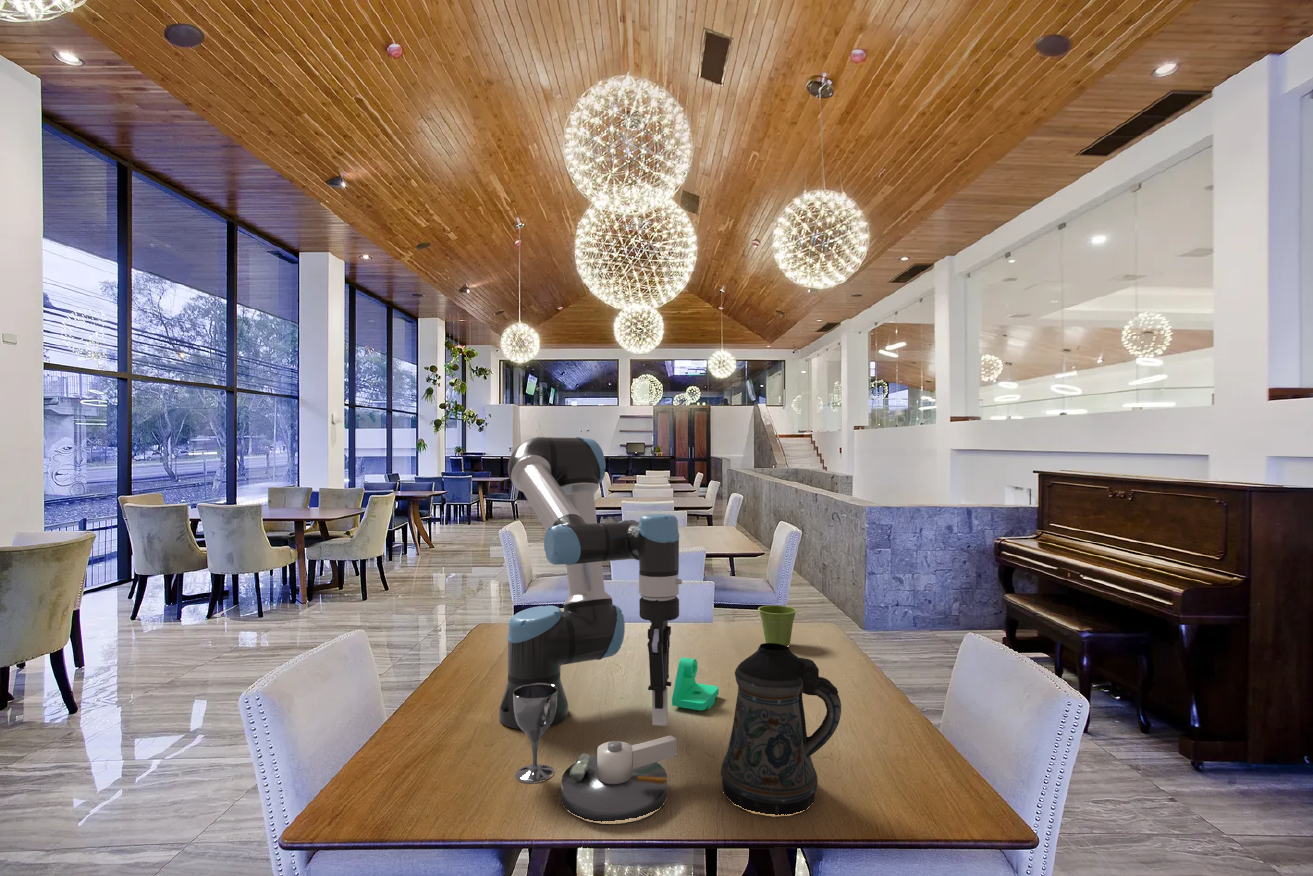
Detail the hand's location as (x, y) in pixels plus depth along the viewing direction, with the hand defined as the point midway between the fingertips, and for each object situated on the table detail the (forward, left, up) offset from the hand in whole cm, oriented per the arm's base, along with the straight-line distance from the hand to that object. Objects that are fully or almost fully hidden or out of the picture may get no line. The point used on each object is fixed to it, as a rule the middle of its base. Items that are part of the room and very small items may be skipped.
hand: (660, 723), depth 119 cm
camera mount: (+4, +32, -8) cm, 33 cm away
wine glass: (-22, -6, -8) cm, 24 cm away
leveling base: (-6, -11, -8) cm, 15 cm away
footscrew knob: (-3, -8, -5) cm, 10 cm away
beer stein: (+21, -6, -8) cm, 24 cm away
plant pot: (+25, +82, -8) cm, 86 cm away
